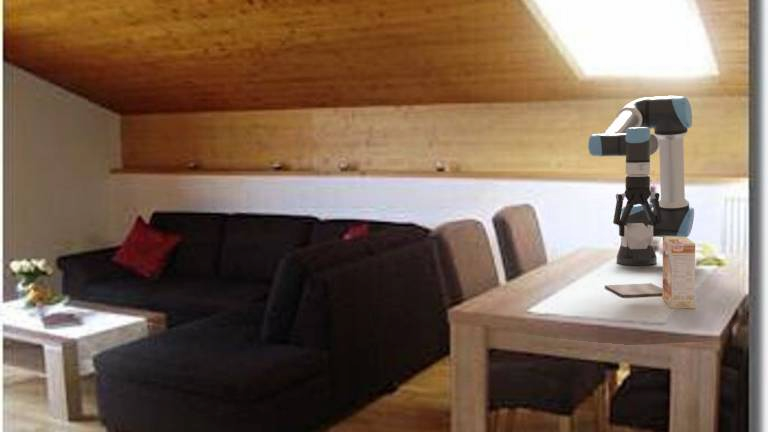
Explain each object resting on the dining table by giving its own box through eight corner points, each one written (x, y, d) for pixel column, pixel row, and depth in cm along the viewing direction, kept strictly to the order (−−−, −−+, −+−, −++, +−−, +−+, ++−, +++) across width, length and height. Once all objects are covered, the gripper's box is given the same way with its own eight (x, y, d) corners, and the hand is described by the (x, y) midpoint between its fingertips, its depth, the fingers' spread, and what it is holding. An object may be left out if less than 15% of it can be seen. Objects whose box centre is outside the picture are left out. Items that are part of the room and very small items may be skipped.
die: (647, 253, 255) (660, 226, 258) (622, 239, 256) (635, 213, 259) (638, 258, 264) (650, 232, 266) (613, 245, 264) (626, 219, 267)
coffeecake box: (661, 297, 253) (662, 236, 250) (685, 298, 251) (686, 236, 249) (669, 308, 238) (670, 243, 236) (695, 308, 237) (696, 242, 235)
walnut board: (651, 285, 272) (651, 283, 272) (671, 295, 256) (671, 292, 256) (604, 287, 270) (604, 285, 270) (622, 297, 255) (622, 294, 254)
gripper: (610, 177, 255) (610, 248, 257) (674, 175, 256) (673, 246, 259) (602, 176, 262) (602, 245, 264) (664, 173, 264) (663, 242, 266)
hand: (637, 245), depth 262 cm, fingers closed on die, 8 cm apart
